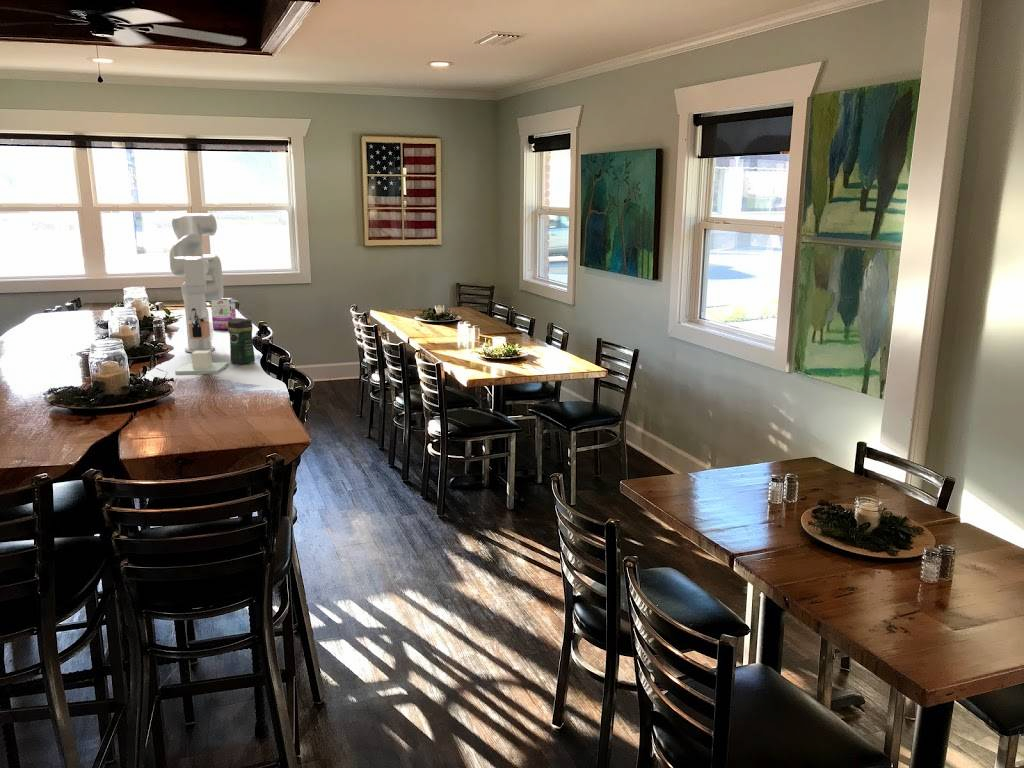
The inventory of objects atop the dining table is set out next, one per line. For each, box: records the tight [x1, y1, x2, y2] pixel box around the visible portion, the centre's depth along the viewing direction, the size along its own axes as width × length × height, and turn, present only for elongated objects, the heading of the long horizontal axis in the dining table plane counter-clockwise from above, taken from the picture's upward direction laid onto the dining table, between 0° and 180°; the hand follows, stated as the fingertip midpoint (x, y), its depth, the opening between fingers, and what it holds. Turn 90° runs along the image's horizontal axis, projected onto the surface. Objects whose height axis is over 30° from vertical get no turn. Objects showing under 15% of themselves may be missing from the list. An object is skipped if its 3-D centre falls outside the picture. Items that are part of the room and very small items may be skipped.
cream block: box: [190, 351, 213, 368], centre depth 320 cm, size 6×6×6 cm
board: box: [175, 362, 229, 375], centre depth 320 cm, size 16×16×1 cm
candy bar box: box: [210, 297, 237, 330], centre depth 419 cm, size 11×5×16 cm, turn 81°
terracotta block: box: [189, 320, 211, 339], centre depth 317 cm, size 6×6×6 cm
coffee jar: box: [227, 317, 256, 365], centre depth 333 cm, size 10×8×19 cm
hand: (199, 335), depth 317 cm, fingers closed on terracotta block, 6 cm apart
